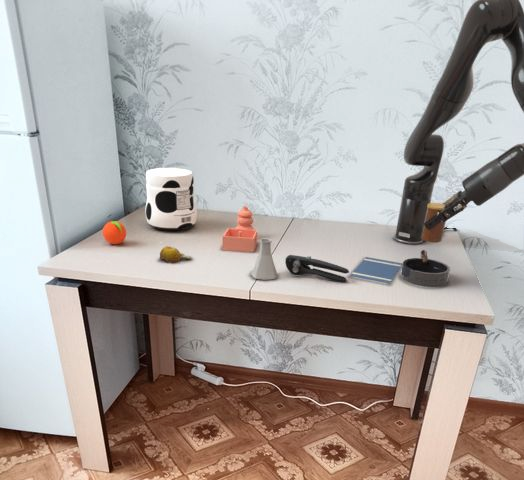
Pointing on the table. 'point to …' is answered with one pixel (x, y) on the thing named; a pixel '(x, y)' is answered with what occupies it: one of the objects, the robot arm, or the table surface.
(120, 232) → the clementine
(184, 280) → the table surface
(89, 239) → the table surface
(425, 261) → the pan handle
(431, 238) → the chocolate tin
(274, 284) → the table surface
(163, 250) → the fruit
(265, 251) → the flask
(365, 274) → the tea towel
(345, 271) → the can opener
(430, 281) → the pan
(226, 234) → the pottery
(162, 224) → the milk container
